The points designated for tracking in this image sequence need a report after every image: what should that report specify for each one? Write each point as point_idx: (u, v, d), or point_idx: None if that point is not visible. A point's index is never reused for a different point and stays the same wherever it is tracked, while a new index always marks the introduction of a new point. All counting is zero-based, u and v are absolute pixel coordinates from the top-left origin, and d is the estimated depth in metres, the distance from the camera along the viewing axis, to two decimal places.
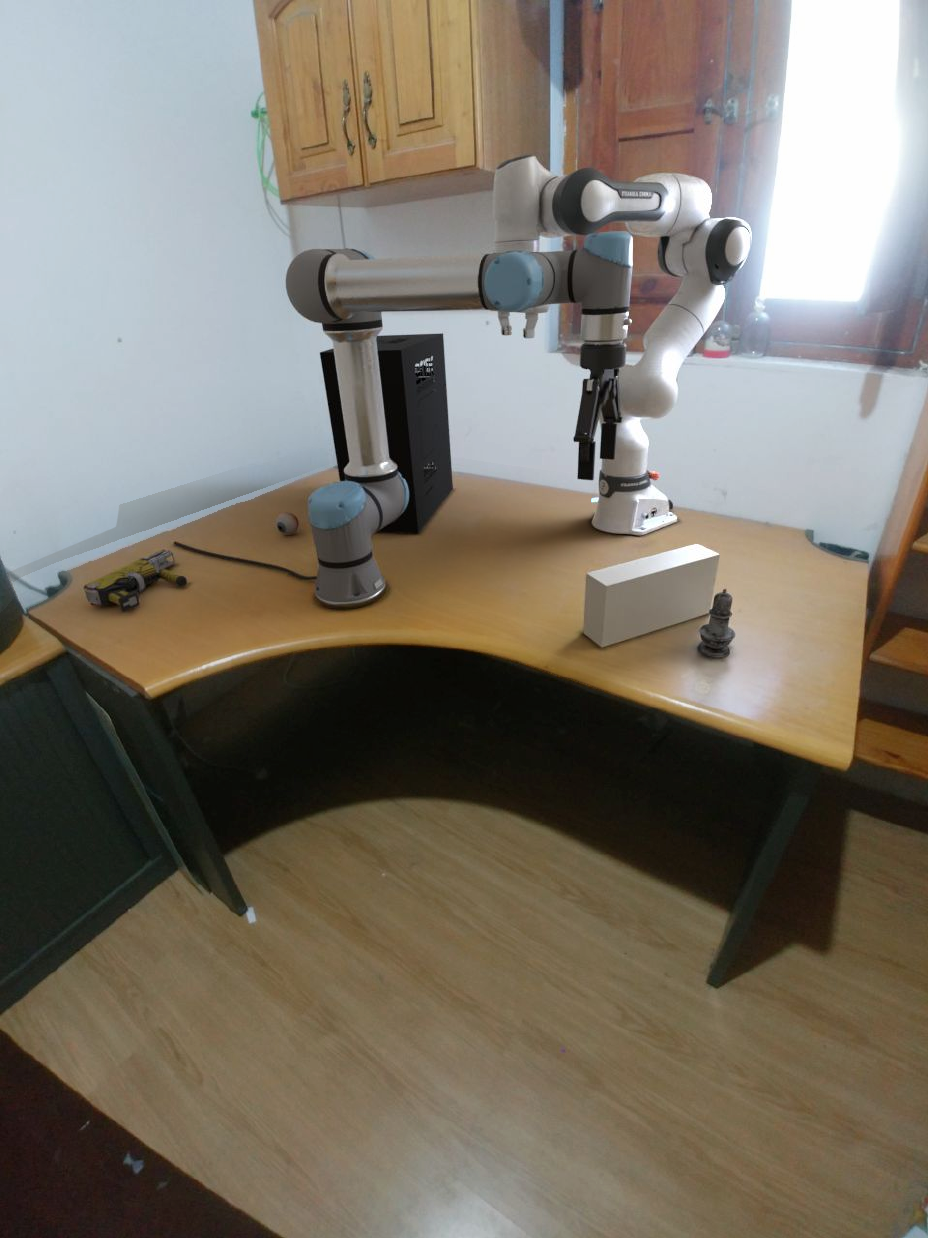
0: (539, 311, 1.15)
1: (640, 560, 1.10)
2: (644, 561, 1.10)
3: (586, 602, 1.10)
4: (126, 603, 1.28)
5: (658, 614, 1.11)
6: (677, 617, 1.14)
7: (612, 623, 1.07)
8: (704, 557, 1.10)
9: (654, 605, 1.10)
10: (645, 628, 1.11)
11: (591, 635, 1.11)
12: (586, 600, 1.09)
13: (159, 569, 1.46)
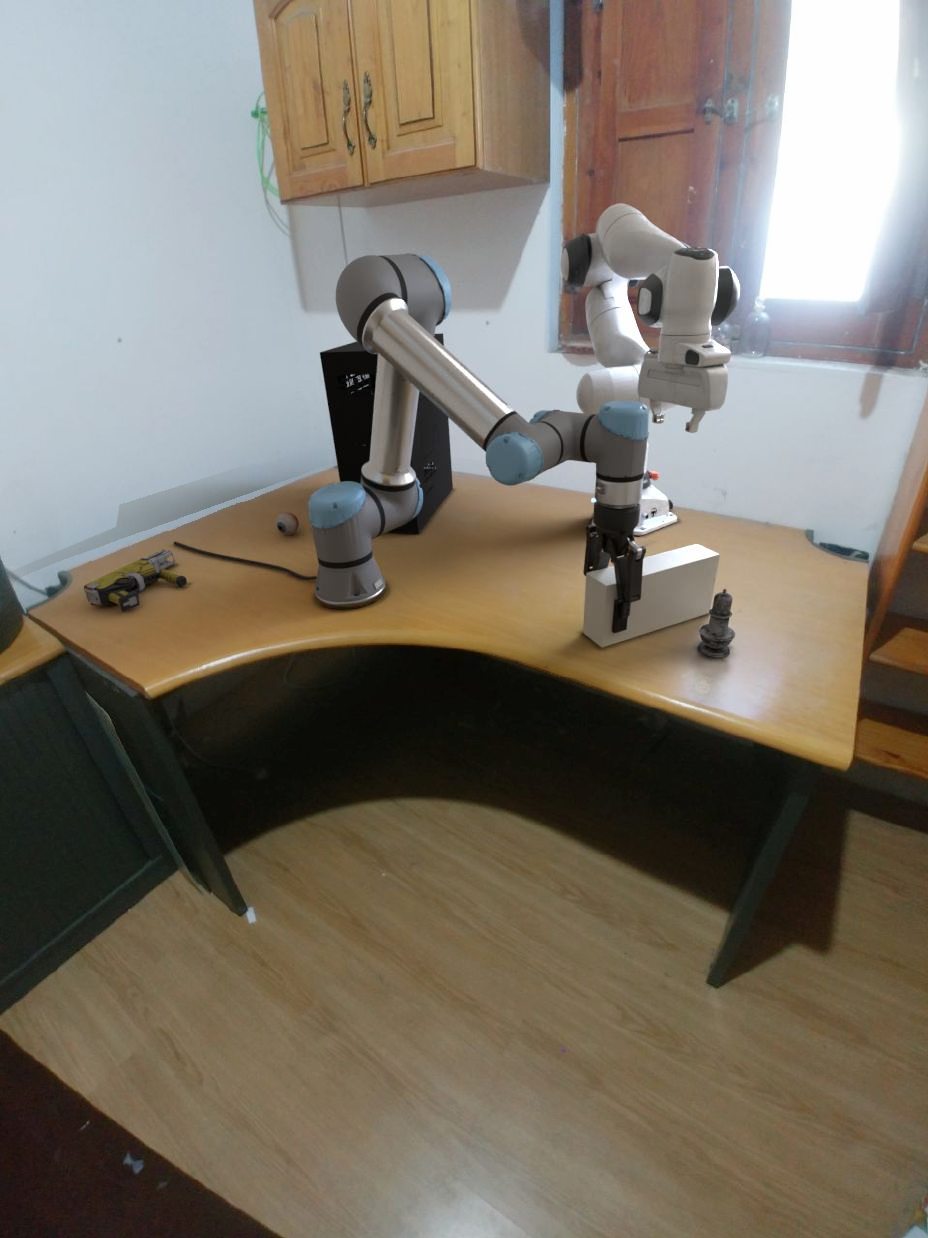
0: None
1: None
2: (644, 561, 1.10)
3: (586, 602, 1.10)
4: (126, 603, 1.28)
5: (658, 614, 1.11)
6: (677, 617, 1.14)
7: None
8: (704, 557, 1.10)
9: (654, 605, 1.10)
10: (645, 628, 1.11)
11: (591, 635, 1.11)
12: (586, 600, 1.09)
13: (159, 569, 1.46)
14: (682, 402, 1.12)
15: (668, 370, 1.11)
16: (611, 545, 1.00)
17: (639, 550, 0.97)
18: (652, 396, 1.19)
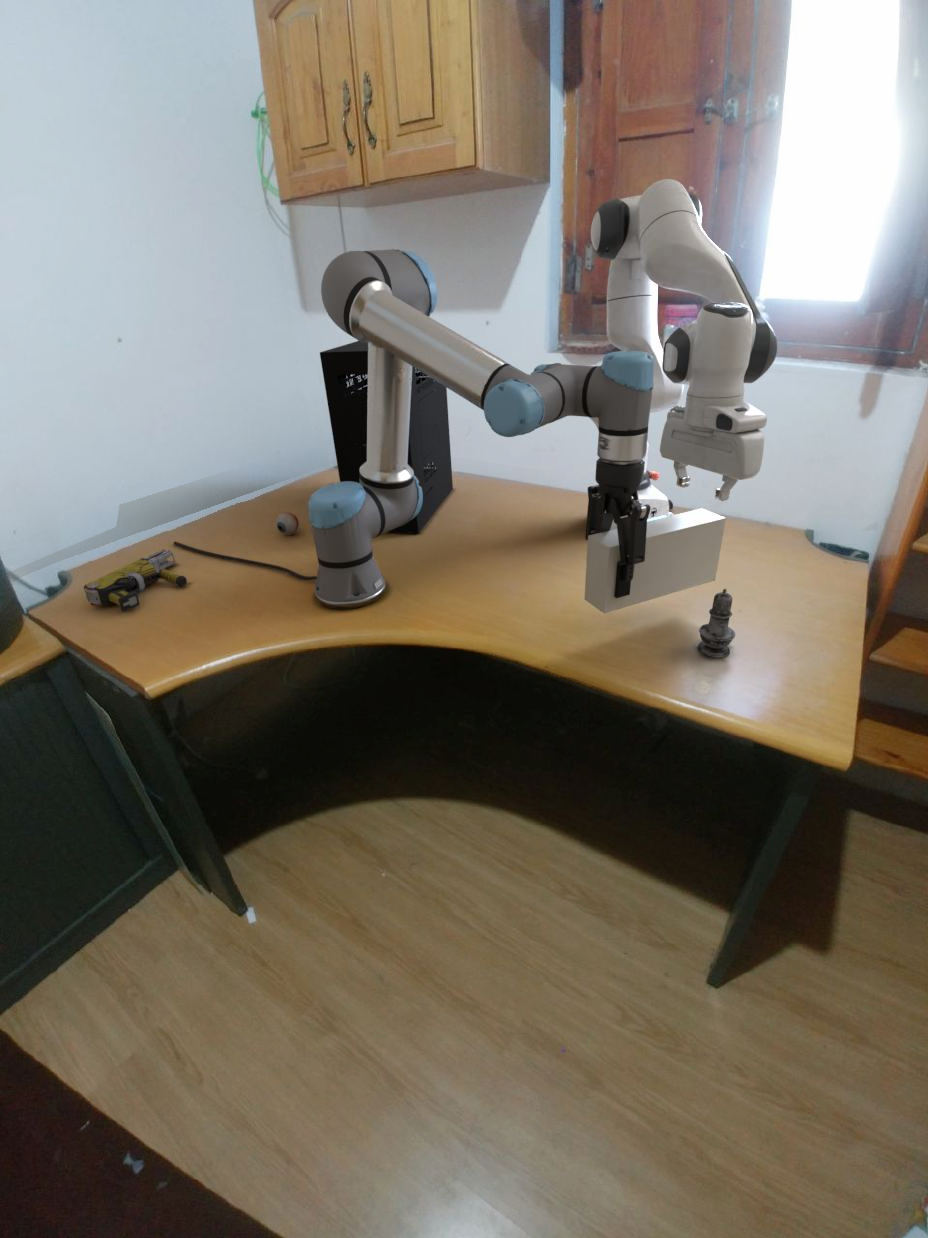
0: None
1: None
2: (648, 524, 1.06)
3: (588, 566, 1.06)
4: (126, 603, 1.28)
5: (662, 579, 1.08)
6: (681, 584, 1.10)
7: None
8: (709, 520, 1.07)
9: (658, 570, 1.06)
10: (649, 594, 1.08)
11: (593, 601, 1.07)
12: (588, 564, 1.06)
13: (159, 569, 1.46)
14: (712, 468, 1.02)
15: (696, 433, 1.01)
16: (614, 504, 0.97)
17: (643, 508, 0.94)
18: (677, 458, 1.08)
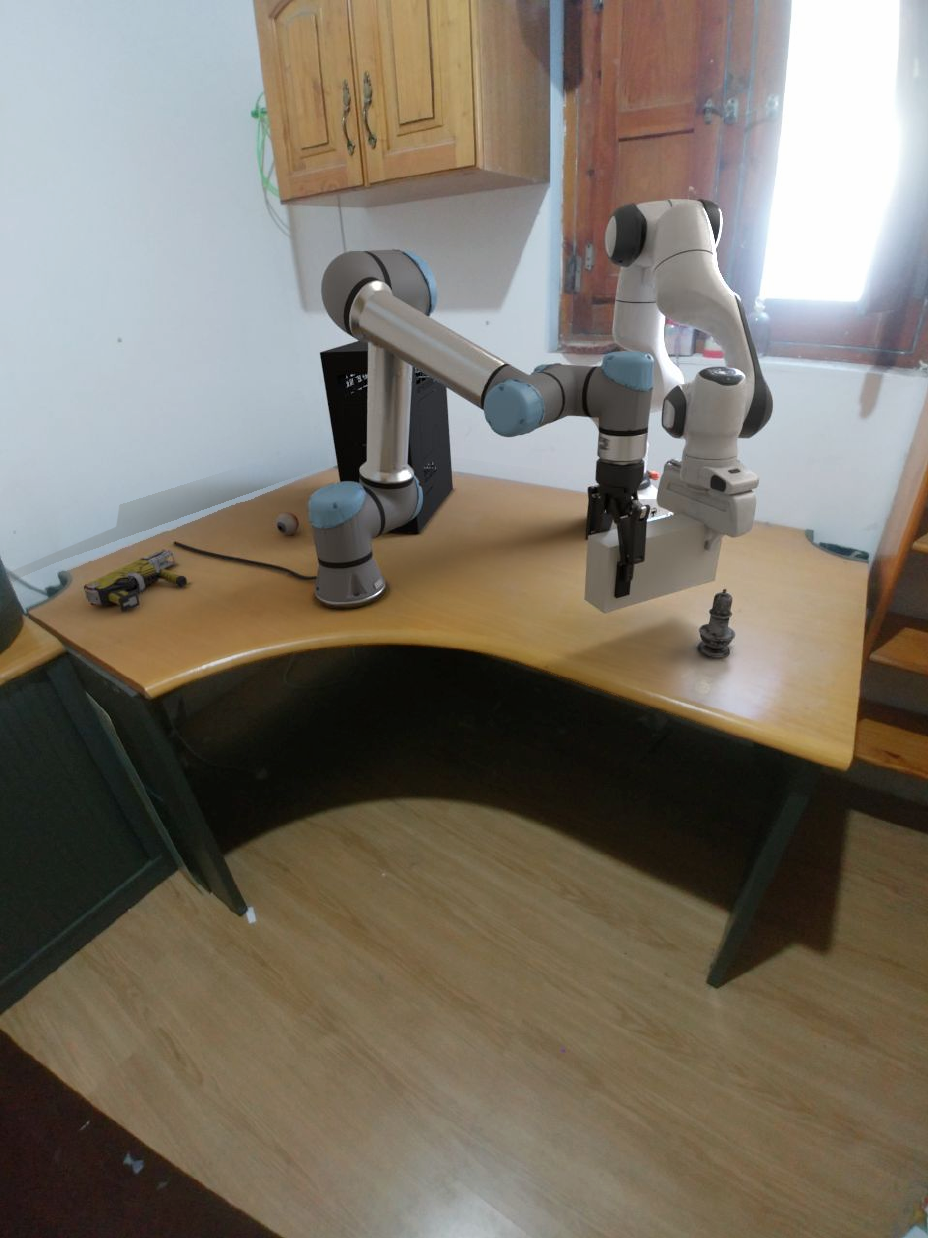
0: None
1: None
2: (648, 524, 1.06)
3: (588, 566, 1.06)
4: (126, 603, 1.28)
5: (662, 579, 1.08)
6: (681, 584, 1.10)
7: (614, 587, 1.03)
8: None
9: (658, 570, 1.06)
10: (648, 594, 1.08)
11: (593, 601, 1.07)
12: (588, 564, 1.06)
13: (159, 569, 1.46)
14: (706, 523, 1.05)
15: (691, 490, 1.05)
16: (614, 504, 0.97)
17: (643, 508, 0.94)
18: (673, 510, 1.12)
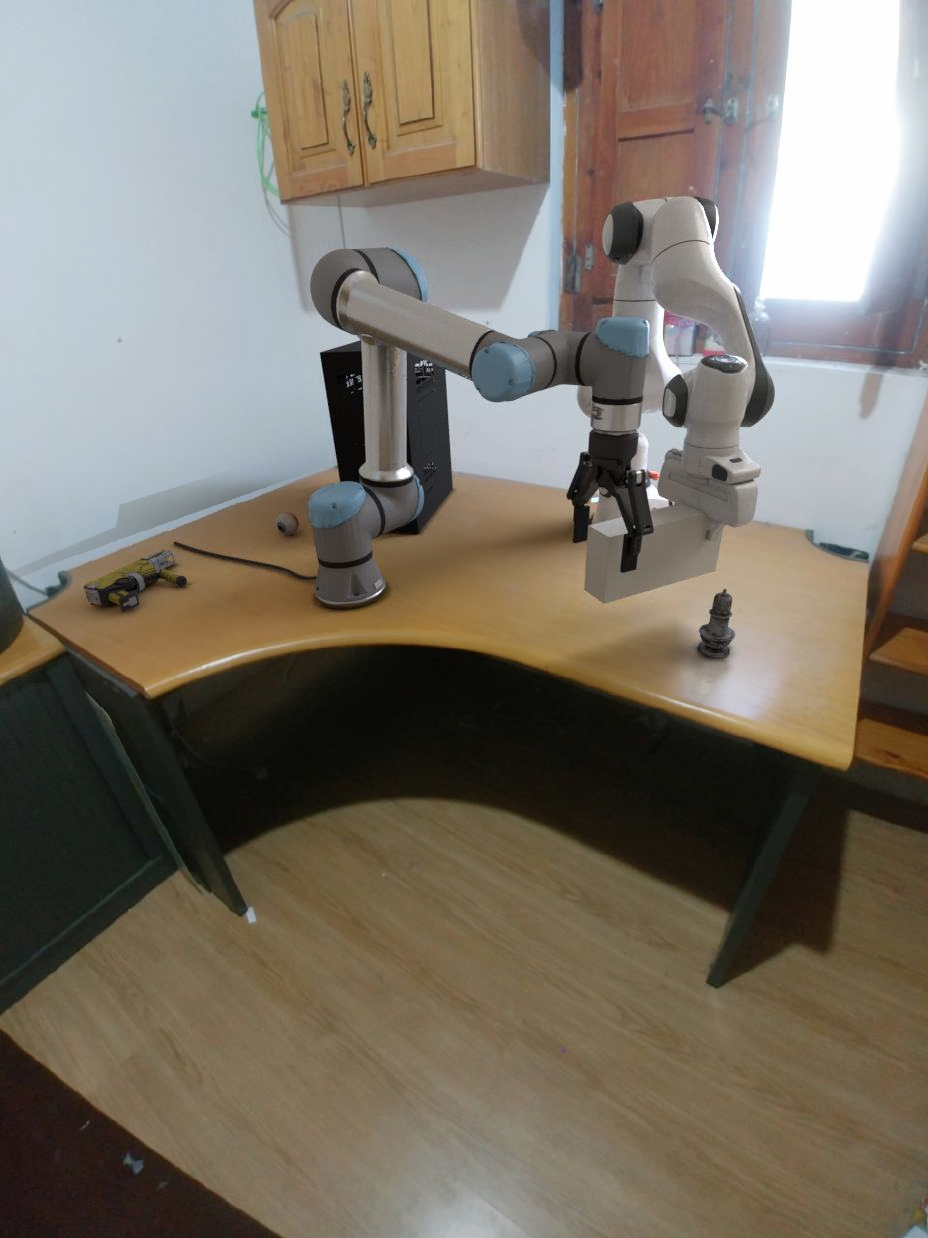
0: None
1: None
2: None
3: (588, 556, 1.05)
4: (126, 603, 1.28)
5: (663, 570, 1.07)
6: (681, 574, 1.10)
7: (615, 577, 1.03)
8: None
9: (659, 560, 1.06)
10: (649, 584, 1.07)
11: (593, 591, 1.07)
12: (588, 554, 1.05)
13: (159, 569, 1.46)
14: (707, 513, 1.05)
15: (692, 479, 1.04)
16: (607, 477, 0.94)
17: (638, 471, 0.90)
18: (673, 499, 1.11)
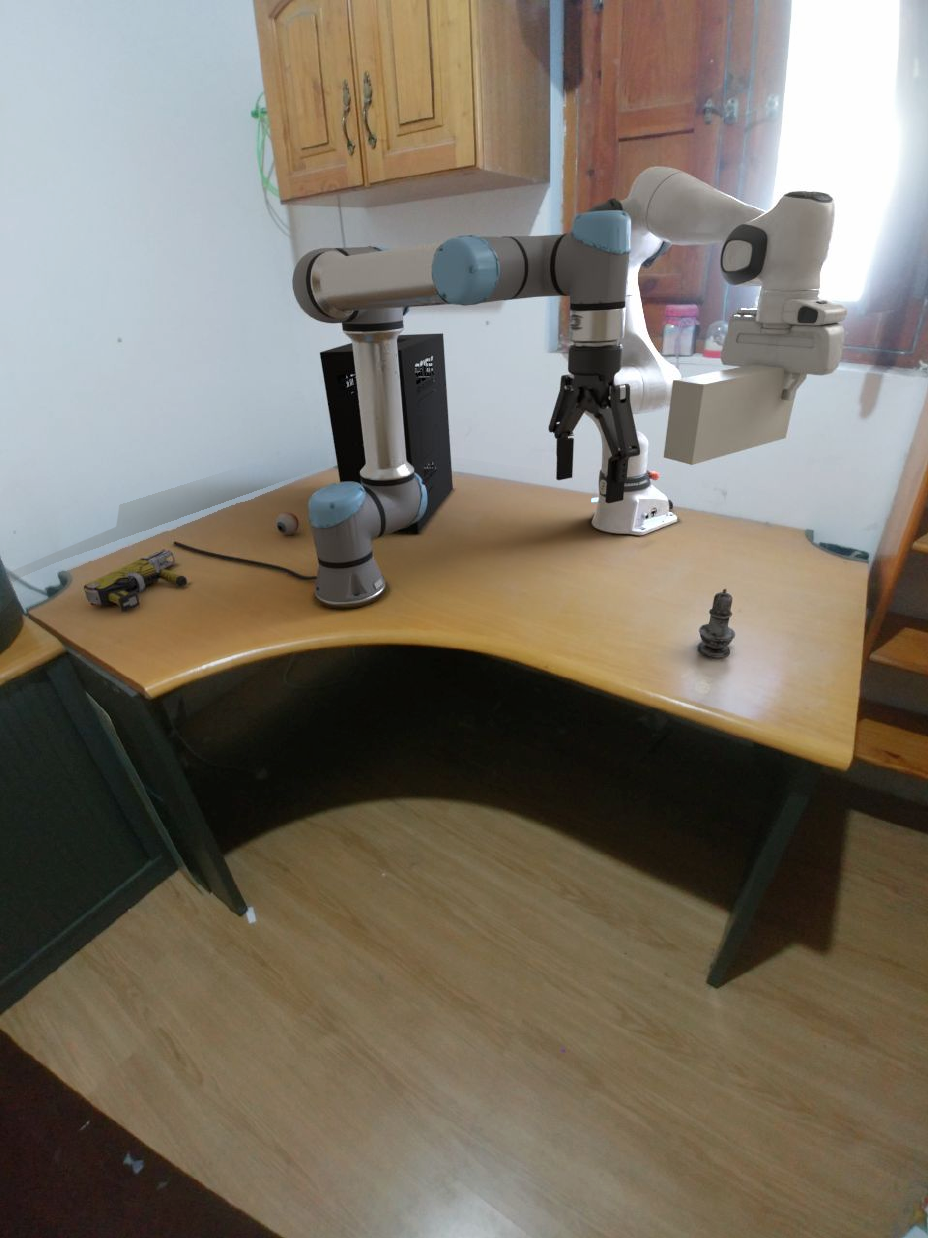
0: None
1: (722, 371, 1.01)
2: (728, 371, 1.01)
3: (671, 416, 0.99)
4: (126, 603, 1.28)
5: (744, 430, 1.02)
6: (758, 438, 1.05)
7: (704, 434, 0.97)
8: None
9: (741, 418, 1.01)
10: (731, 446, 1.02)
11: (676, 455, 1.00)
12: (671, 414, 0.99)
13: (159, 569, 1.46)
14: (786, 367, 1.01)
15: (771, 332, 1.00)
16: (589, 396, 0.86)
17: (621, 385, 0.82)
18: (742, 363, 1.07)
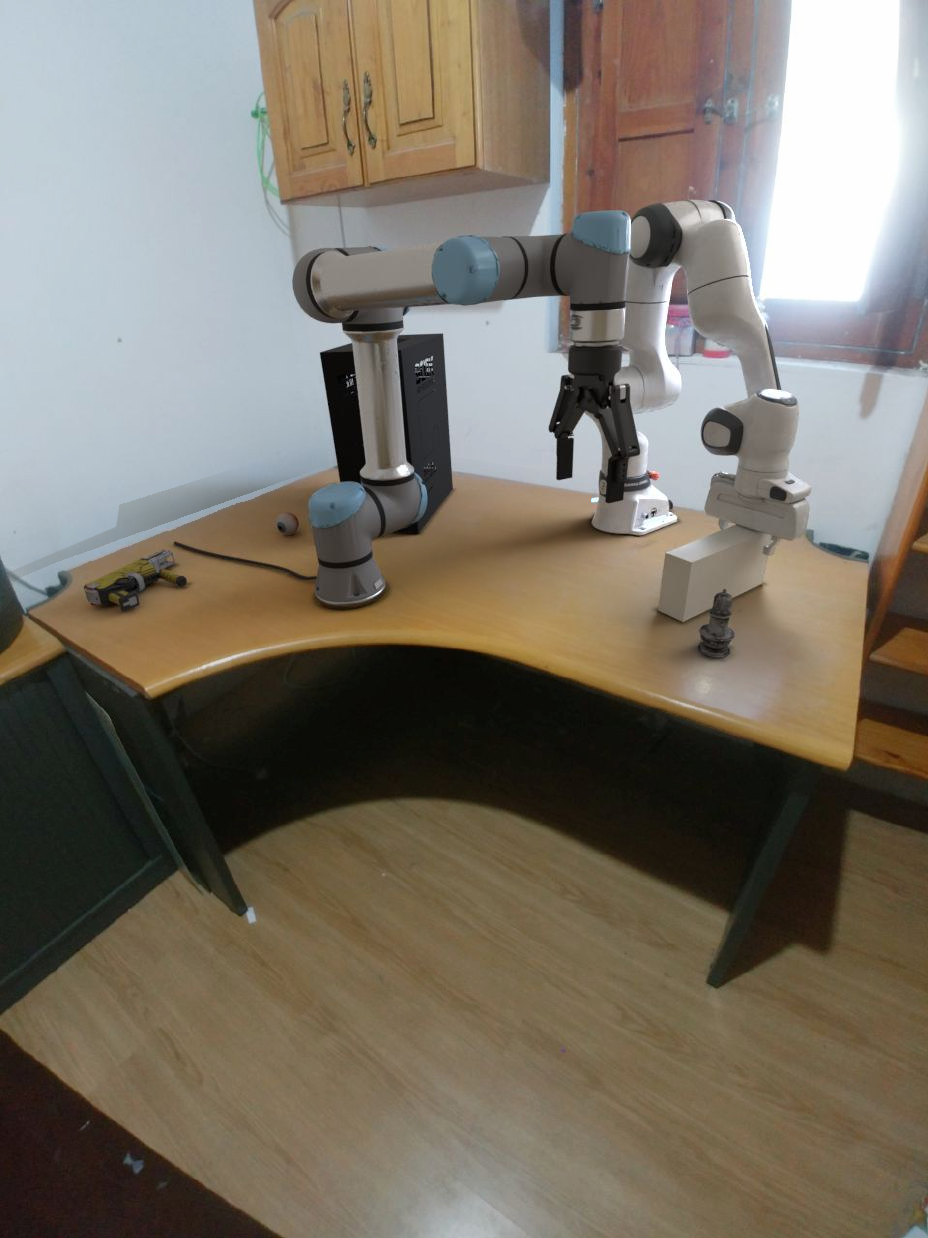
0: None
1: (707, 538, 1.18)
2: (711, 538, 1.17)
3: (664, 580, 1.15)
4: (126, 603, 1.28)
5: (726, 587, 1.19)
6: (739, 589, 1.22)
7: (692, 597, 1.13)
8: None
9: (724, 579, 1.17)
10: None
11: (669, 611, 1.17)
12: (664, 578, 1.15)
13: (159, 569, 1.46)
14: (761, 529, 1.17)
15: (747, 500, 1.16)
16: (589, 396, 0.86)
17: (621, 385, 0.82)
18: (723, 518, 1.23)
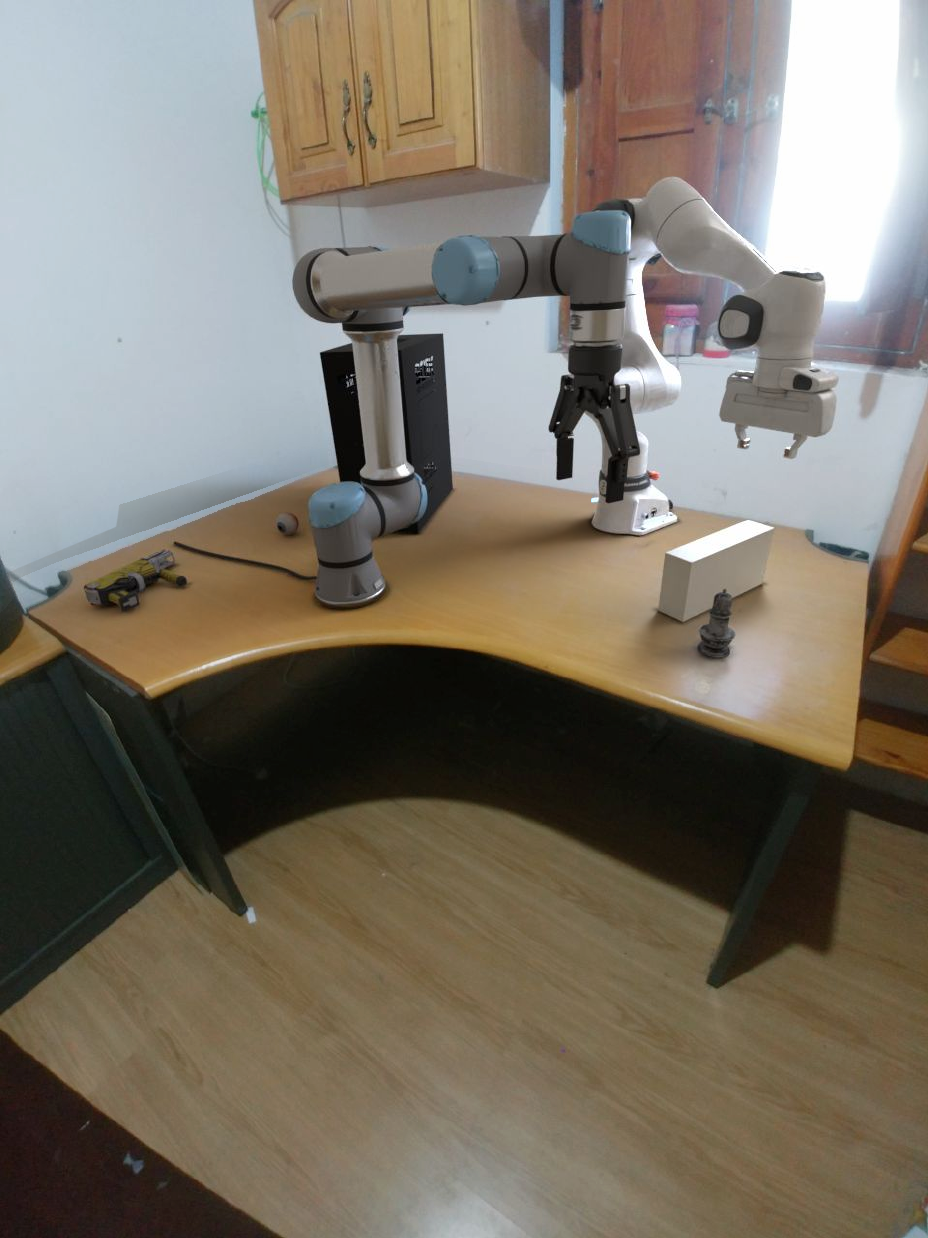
0: None
1: (707, 538, 1.18)
2: (711, 538, 1.17)
3: (664, 580, 1.15)
4: (126, 603, 1.28)
5: (726, 587, 1.19)
6: (739, 589, 1.22)
7: (692, 597, 1.13)
8: (762, 531, 1.19)
9: (724, 579, 1.17)
10: None
11: (669, 611, 1.17)
12: (664, 578, 1.15)
13: (159, 569, 1.46)
14: (782, 428, 1.07)
15: (767, 395, 1.06)
16: (589, 396, 0.86)
17: (621, 385, 0.82)
18: (740, 421, 1.13)
